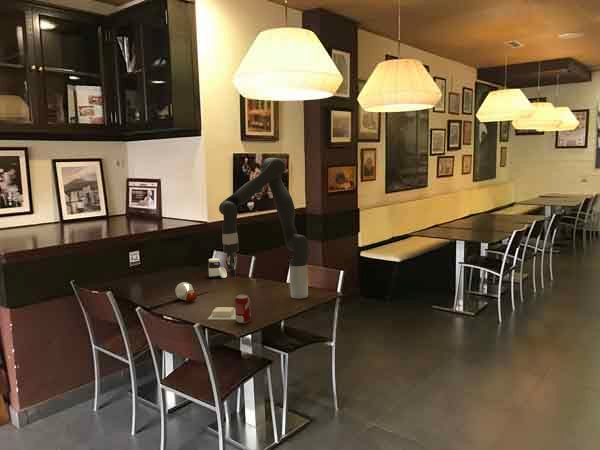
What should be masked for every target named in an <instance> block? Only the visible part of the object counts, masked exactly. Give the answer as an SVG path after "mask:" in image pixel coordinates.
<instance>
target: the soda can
mask: <svg viewBox="0 0 600 450" xmlns="http://www.w3.org/2000/svg"><path fill="white" fill-rule="evenodd" d="M234 308H235V313H236V320H235V322H236V323H239V324H247V323H249V322H251V320H252V315H251V299H250V297H249V295H248V294H239V295H236V296H235V300H234Z"/></svg>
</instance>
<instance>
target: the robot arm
mask: <svg viewBox="0 0 600 450" xmlns="http://www.w3.org/2000/svg"><path fill="white" fill-rule="evenodd" d="M285 170H286V164H285V162H284V161H283V160H282V158H277V157H267V158H266V159H264V161H263V164H262V172H261V173H260V174H258V175H257V176H256V177H253V179H250V180H249V181H247V182H246V183H244V184H243V185H242V186H241V187H240V188H238V189H237V190H236V191H235V192H234V193H233V194H231V195H230V196H228V197H227V198H225V199H224V200H223V201H222V202H221V203H220V204H219V206H218V211H219V213H220V214H221V215H223V222H222V223H221V229H222V237H221V239H222V247H223V248H222V249H223V253H225V254H227V255H226V260H225V263H226V266H227V268H228V270H229V271H230V272H229V273H230V278H235V277H236V275H237V272H236V268H237V265H238V256H239V255H237V252H239V251H240V247H239V234H238V227H237V221H238V209H237V208H238V207H240V206H241V205H244V204H246V203H247V202H248V201H249V200H250V199H251V198H252V197H253V196H254V195H256V194H257V193H258V192H260V191H261V190H262V189H263V188H264V187H265V186H266V185H269V189H270V192H271V196H272V198H273V202H274V206H275V209H276V212H277V215H278V218H279V221H280V224H281V228H282V231H283V238H284V241H285V242H284V243H285V245H286V248H287V249H288V250H289V251H291V252H293V253H292V254H293V257H292V258H290V259H289V260H288V261H289V280H290V282H289V284H290V286H289V288H290V297H291V298H292V299H299V300H300V299H305V298H308V297H309V287H308V286H309V284H308V283H309V282H308V281H309V280H308V260H309V240H308V238H307V237H306V236H305V235H302V234H298V231H297V229H296V226H295V218H296V217H295V216H296V208H295V204H294V201H293V197H292V195H291V194H290V192H289V190H288V188H287V187H286V186H285V184H284V182H283V179H282V175H283V173H284V172H285Z"/></svg>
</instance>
